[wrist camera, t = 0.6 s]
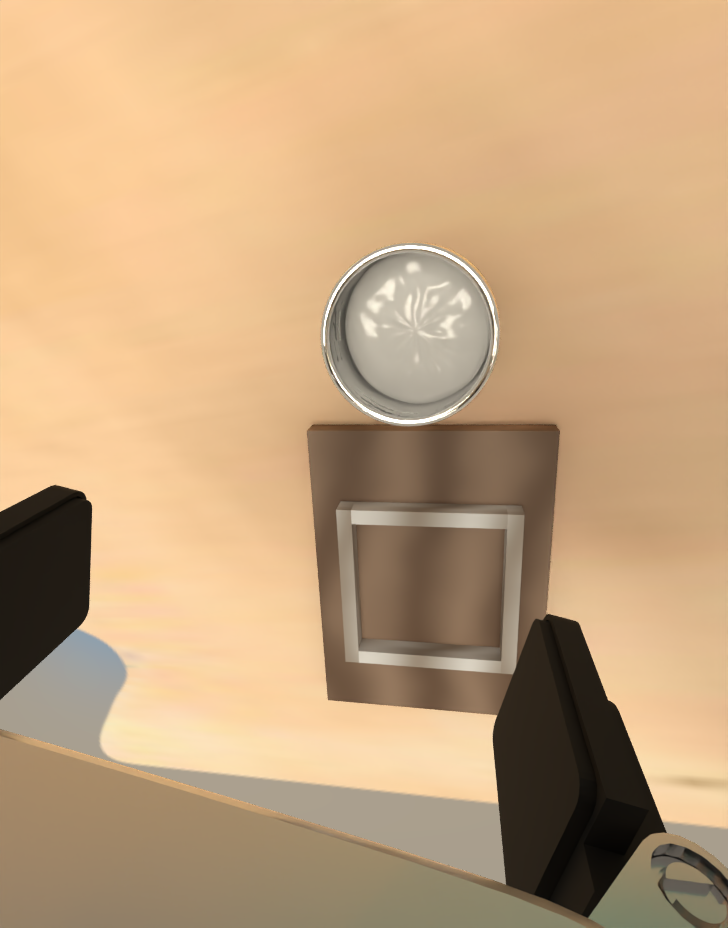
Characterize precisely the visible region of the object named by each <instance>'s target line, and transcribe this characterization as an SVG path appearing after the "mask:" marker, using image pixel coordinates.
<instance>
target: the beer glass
mask: <svg viewBox="0 0 728 928" xmlns="http://www.w3.org/2000/svg"><path fill="white" fill-rule="evenodd" d="M320 340H321V350H322V355H323V359H324V363H325V366H326V369H327V371H328V374H329V376H330V378H331V380H332V381H333V383H334V385H335V386H336V388H337V389H338V391H339V392H340V393H341V394H342V396H343V397H344V398H345V399H346V400H347V401H348V402H349V403H350V404H351V405H352V406H354V407H355V408H356V409H357V410H359V411H360V412H362V413H363V414H365V415H367V416H369V417H371V418H373V419H375V420H377V421H380V422H383V423H387V424H391V425H396V426H422V425H428V424H432V423H436V422H439V421H441V420H444V419H446V418H448V417H450V416H452V415H454V414H456V413H457V412H459V411H460V410H462V409H463V408H464V407H466V406H467V405H468V404H469V403H470V402H471V401H472V400H473V399H474V398H475V397H476V396H477V395H478V394H479V393H480V391H481V390H482V389H483V387H484V386H485V384H486V383H487V381H488V379H489V377H490V375H491V373H492V371H493V369H494V366H495V363H496V360H497V357H498V352H499V346H500V319H499V312H498V307H497V303H496V300H495V297H494V294H493V292H492V290H491V288H490V286H489V284H488V282H487V281H486V279H485V278H484V276H483V275H482V274H481V272H480V271H479V270H478V269H477V268H476V267H475V266H474V265H473V264H472V263H471V262H470V261H469V260H467V259H466V258H465V257H463V256H462V255H460V254H458V253H457V252H455V251H453V250H451V249H448V248H446V247H443V246H440V245H436V244H431V243H421V242H405V243H397V244H392V245H388V246H384V247H381V248H379V249H376V250H374V251H372V252H370V253H368V254H366V255H365V256H363V257H362V258H360V259H359V260H357V261H356V262H355V263H354V264H353V265H351V266H350V267H349V268H348V269H347V270H346V271H345V272H344V274H343V275H342V276H341V277H340V279H339V280H338V281H337V283H336V284H335V286H334V287H333V289H332V291H331V293H330V295H329V297H328V300H327V302H326V305H325V308H324V312H323V316H322V321H321V331H320Z"/></svg>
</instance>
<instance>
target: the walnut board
mask: <svg viewBox="0 0 728 928" xmlns="http://www.w3.org/2000/svg"><path fill="white" fill-rule="evenodd" d="M559 434H560V431H559V429H558V428H557V426H556V425H422V426H396V425H312V426H311V427H310V428H309V429H308V430H307V438H308V451H309V463H310V476H311V489H312V502H313V515H314V528H315V540H316V553H317V566H318V579H319V592H320V604H321V617H322V630H323V643H324V656H325V668H326V681H327V694H328V700H334V701H345V702H356V703H368V704H379V705H390V706H402V707H413V708H424V709H435V710H447V711H458V712H469V713H481V714H492V715H498V713H499V710H500V708H501V705H502V702H503V700H504V697H505V694H506V692H507V689H508V686H509V684H510V681H511V678H512V676H513V673H514V671H515V668H516V665H517V663H518V660H519V657H520V655H521V652H522V649H523V647H524V644H525V642H526V639H527V636H528V634H529V631H530V628H531V626H532V623H533V621H534V620H535V619H540V620H543V619H544V617H545V616H546V610H547V596H548V583H549V569H550V556H551V542H552V529H553V515H554V501H555V488H556V474H557V461H558V447H559Z"/></svg>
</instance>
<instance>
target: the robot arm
mask: <svg viewBox="0 0 728 928" xmlns="http://www.w3.org/2000/svg"><path fill="white" fill-rule="evenodd" d="M91 526H92V505H91V503H90V502H89V501H88V500H86V496H85V494H84V493H83V492H80V491H77V490H73V489H69V488H65V487H61V486H57V485H53V486H50V487H48V488H46V489H44V490H42V491H40V492H38V493H36V494H34V495H33V496H31V497H29V498H27V499H25V500H23V501H21V502H19V503H17V504H15V505H13V506H11V507H9V508H7V509H5V510H3V511H1V512H0V700H1V699H2V698H3V697H4V696H5V695H6V694H7V693H8V692H9V691H10V690H11V689H12V688H13V687H15V685H16V684H18V683H19V682H20V681H21V680H22V679H23V678H24V677H25V676H26V675H27V674H28V673H30V671H32V670H33V669H34V668H35V667H36V666H37V665H38V664H39V663H40V662H41V661H42V660H44V659H45V658H46V657H47V656H48V655H49V654H50V653H51V652H52V651H53V650H54V649H55V648H56V647H58V645H60V644H61V643H62V642H63V641H64V640H65V639H66V638H67V637H68V636H69V635H70V634H71V633H72V632H74V631H75V630H76V629H77V628H78V627H79V626H80V625H81V624H82V623H83V621H84V620H85V618H86V616H87V614H88V610H89V594H90V560H91ZM493 748H494V759H495V769H496V780H497V791H498V802H499V811H500V823H501V834H502V844H503V854H504V866H505V877H506V885H505V884H502V883H499V882H497V881H494V880H491V879H488V878H485V877H482V876H479V875H476V874H473V873H470V872H467V871H464V870H460V869H457V868H454V867H451V866H448V865H445V864H442V863H439V862H436V861H433V860H430V859H427V858H423V857H420V856H417V855H414V854H411V853H408V852H405V851H402V850H399V849H396V848H393V847H389V846H386V845H383V844H379V843H376V842H373V841H370V840H367V839H363V838H360V837H356V836H353V835H350V834H347V833H344V832H341V831H337V830H334V829H331V828H328V827H324V826H321V825H318V824H315V823H311V822H308V821H305V820H302V819H298V818H295V817H292V816H289V815H285V814H282V813H279V812H276V811H272V810H269V809H266V808H262V807H259V806H256V805H253V804H249V803H246V802H243V801H240V800H236V799H233V798H230V797H226V796H223V795H220V794H216V793H213V792H210V791H206V790H203V789H200V788H197V787H193V786H190V785H187V784H183V783H180V782H177V781H173V780H170V779H167V778H163V777H160V776H157V775H153V774H150V773H146V772H143V771H140V770H137V769H133V768H130V767H127V766H123V765H120V764H117V763H113V762H110V761H107V760H103V759H100V758H97V757H93V756H90V755H87V754H83V753H80V752H77V751H73V750H70V749H66V748H63V747H60V746H56V745H53V744H49V743H46V742H42V741H39V740H36V739H32V738H29V737H26V736H22V735H19V734H15V733H12V732H9V731H5V730H2V729H0V928H728V869H727V868H726V867H725V866H724V865H723V864H722V863H721V862H720V861H719V860H718V859H717V858H716V857H714V856H713V855H712V854H710V853H709V852H707V851H706V850H705V849H703V848H702V847H700V846H699V845H697V844H696V843H694V842H691V841H689V840H687V839H685V838H683V837H681V836H678V835H673V834H668V833H667V832H666V830H665V827H664V825H663V822H662V820H661V817H660V815H659V812H658V810H657V807H656V804H655V802H654V799H653V797H652V794H651V792H650V789H649V787H648V784H647V782H646V779H645V776H644V774H643V771H642V769H641V766H640V764H639V761H638V759H637V756H636V754H635V751H634V748H633V746H632V743H631V741H630V738H629V736H628V733H627V731H626V728H625V726H624V723H623V720H622V718H621V715H620V713H619V711H618V709H617V707H616V705H615V704H614V703H612V702H611V701H608V699H607V696H606V694H605V691H604V688H603V686H602V683H601V680H600V678H599V675H598V673H597V670H596V667H595V665H594V662H593V659H592V657H591V654H590V651H589V649H588V646H587V643H586V641H585V638H584V635H583V633H582V630H581V627H580V625H579V623H578V622H576V621H573V620H569V619H565V618H562V617H558V616H554V615H550V614H548V615H546V616H545V617H544V619H543V620H540V619H535V620H534V621H533V623H532V626H531V628H530V631H529V634H528V636H527V639H526V642H525V644H524V647H523V649H522V652H521V655H520V657H519V660H518V663H517V665H516V668H515V671H514V673H513V676H512V678H511V681H510V684H509V686H508V689H507V692H506V694H505V697H504V700H503V702H502V705H501V708H500V710H499V713H498V715H497V718H496V721H495V725H494V730H493Z"/></svg>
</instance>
